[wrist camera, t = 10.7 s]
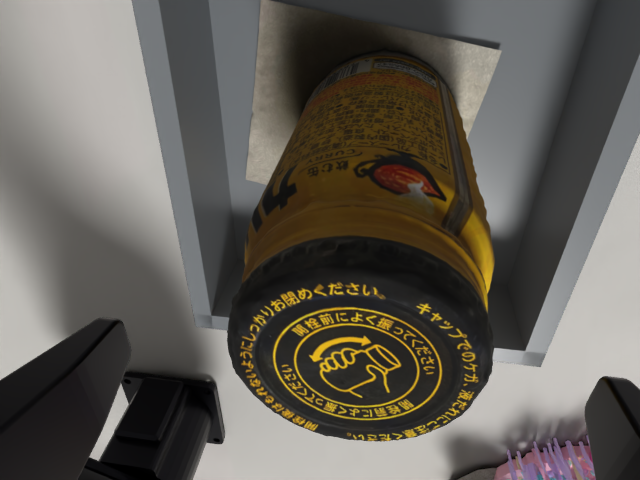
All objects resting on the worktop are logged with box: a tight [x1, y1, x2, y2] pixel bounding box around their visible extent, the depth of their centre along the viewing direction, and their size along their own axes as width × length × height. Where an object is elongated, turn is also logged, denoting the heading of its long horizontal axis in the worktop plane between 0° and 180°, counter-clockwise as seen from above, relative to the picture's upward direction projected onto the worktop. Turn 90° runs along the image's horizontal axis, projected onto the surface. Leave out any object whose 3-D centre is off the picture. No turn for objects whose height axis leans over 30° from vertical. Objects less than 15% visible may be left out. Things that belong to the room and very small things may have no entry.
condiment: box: [227, 0, 502, 441], centre depth 14 cm, size 7×8×12 cm
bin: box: [132, 0, 640, 367], centre depth 17 cm, size 17×15×5 cm
